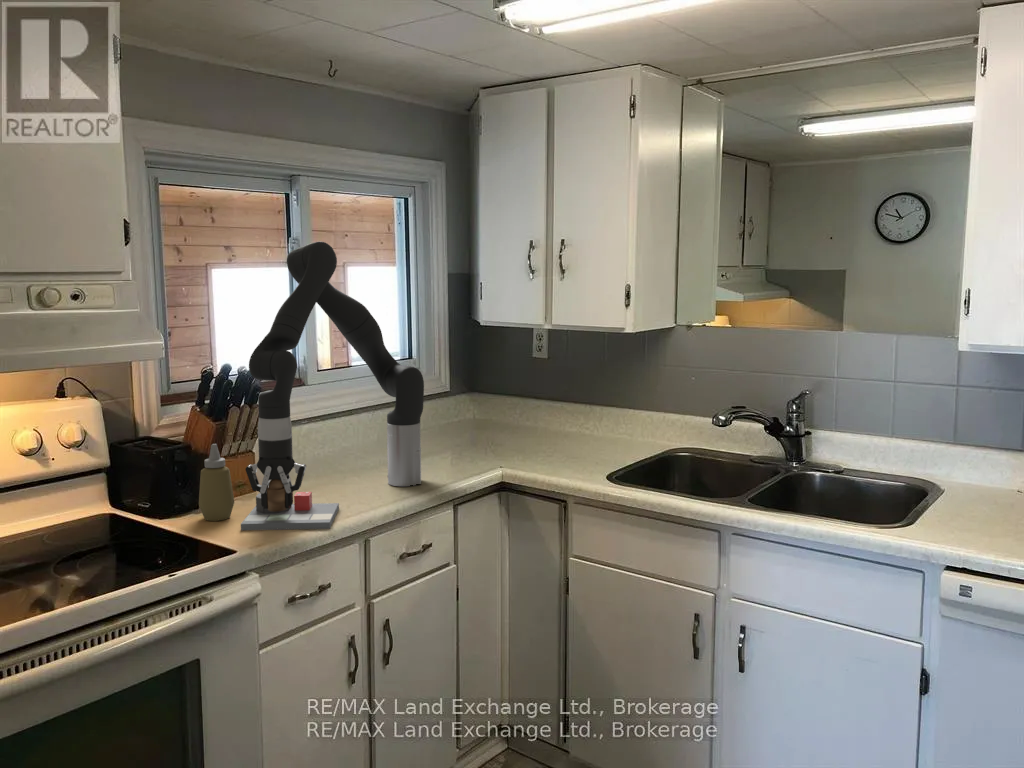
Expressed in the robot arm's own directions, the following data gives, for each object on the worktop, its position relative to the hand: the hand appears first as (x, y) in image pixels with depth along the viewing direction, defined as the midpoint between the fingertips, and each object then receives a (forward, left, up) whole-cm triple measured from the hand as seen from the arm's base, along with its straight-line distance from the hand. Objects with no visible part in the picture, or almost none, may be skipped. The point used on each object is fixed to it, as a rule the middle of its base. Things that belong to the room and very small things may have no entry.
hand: (277, 507), depth 190 cm
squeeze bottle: (+15, -6, -4) cm, 17 cm away
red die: (-5, -8, -2) cm, 9 cm away
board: (-3, -4, -4) cm, 6 cm away
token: (0, 0, 0) cm, 0 cm away
